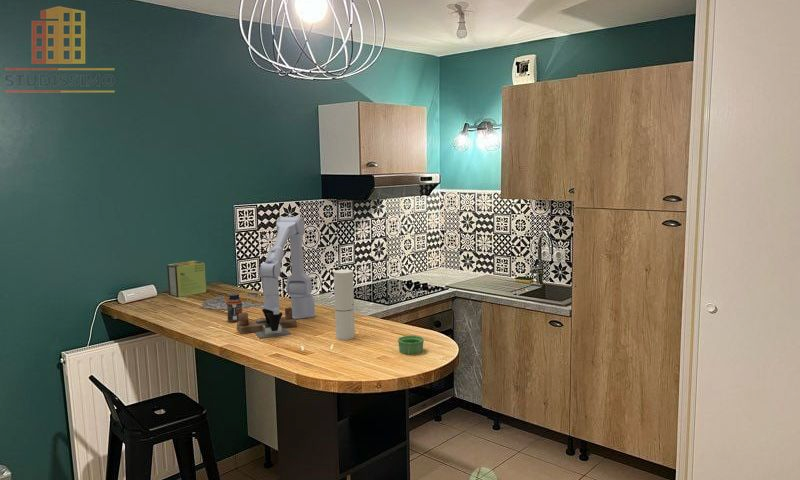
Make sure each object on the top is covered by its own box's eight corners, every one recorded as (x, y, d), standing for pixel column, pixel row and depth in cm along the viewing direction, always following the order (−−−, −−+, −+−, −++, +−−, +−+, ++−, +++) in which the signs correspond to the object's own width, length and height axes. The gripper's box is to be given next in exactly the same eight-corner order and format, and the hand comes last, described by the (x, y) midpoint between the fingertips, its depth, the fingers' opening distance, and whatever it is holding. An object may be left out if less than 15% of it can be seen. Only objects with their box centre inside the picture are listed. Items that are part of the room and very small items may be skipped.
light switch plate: (278, 330, 239) (278, 320, 238) (281, 333, 235) (281, 323, 234) (262, 332, 236) (262, 323, 235) (265, 335, 232) (264, 325, 231)
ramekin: (392, 351, 212) (392, 339, 211) (410, 345, 218) (410, 333, 217) (411, 357, 205) (411, 344, 205) (429, 351, 211) (429, 338, 211)
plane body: (291, 322, 252) (290, 305, 251) (296, 326, 245) (296, 309, 244) (237, 329, 243) (236, 312, 242) (241, 334, 236) (240, 316, 235)
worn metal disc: (185, 305, 287) (185, 304, 287) (243, 291, 315) (243, 290, 315) (232, 314, 268) (232, 313, 268) (290, 298, 296) (290, 297, 296)
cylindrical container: (357, 335, 232) (356, 270, 228) (350, 340, 225) (348, 273, 222) (340, 333, 234) (338, 269, 231) (332, 338, 227) (330, 272, 224)
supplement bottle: (238, 322, 253) (237, 295, 251) (225, 322, 254) (223, 295, 252) (245, 319, 258) (243, 292, 257) (232, 318, 260) (230, 292, 258)
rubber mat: (285, 329, 242) (285, 328, 241) (291, 334, 234) (291, 333, 234) (255, 333, 236) (254, 332, 236) (259, 338, 229) (259, 337, 229)
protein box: (206, 292, 313) (205, 262, 311) (178, 297, 302) (176, 266, 300) (196, 289, 320) (194, 260, 318) (168, 294, 309) (166, 264, 307)
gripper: (256, 291, 238) (258, 325, 240) (265, 299, 225) (266, 334, 227) (274, 289, 241) (275, 323, 243) (284, 296, 228) (285, 332, 230)
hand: (272, 328), depth 235 cm, fingers open, 6 cm apart
